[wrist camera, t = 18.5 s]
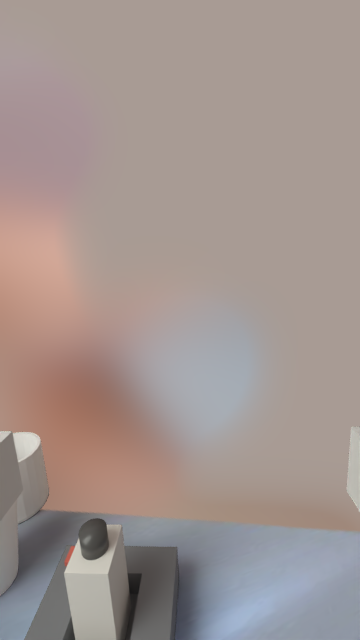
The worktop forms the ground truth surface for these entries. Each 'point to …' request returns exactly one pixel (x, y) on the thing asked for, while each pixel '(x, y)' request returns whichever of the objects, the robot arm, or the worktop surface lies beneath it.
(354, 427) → the robot arm
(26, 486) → the mug
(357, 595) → the worktop surface
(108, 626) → the plug
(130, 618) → the socket
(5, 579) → the foam cup
